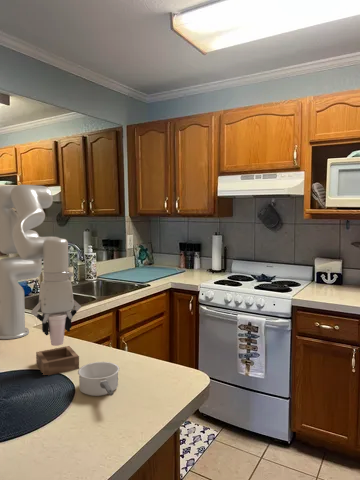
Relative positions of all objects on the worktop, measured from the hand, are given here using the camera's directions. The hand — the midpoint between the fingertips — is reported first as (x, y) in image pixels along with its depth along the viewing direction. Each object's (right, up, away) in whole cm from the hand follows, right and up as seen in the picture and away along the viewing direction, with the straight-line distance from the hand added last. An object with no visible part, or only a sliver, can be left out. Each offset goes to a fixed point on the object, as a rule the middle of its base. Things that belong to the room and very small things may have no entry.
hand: (57, 331), depth 116 cm
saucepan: (+18, -13, -18) cm, 29 cm away
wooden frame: (0, -11, +1) cm, 11 cm away
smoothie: (0, -4, 0) cm, 4 cm away
